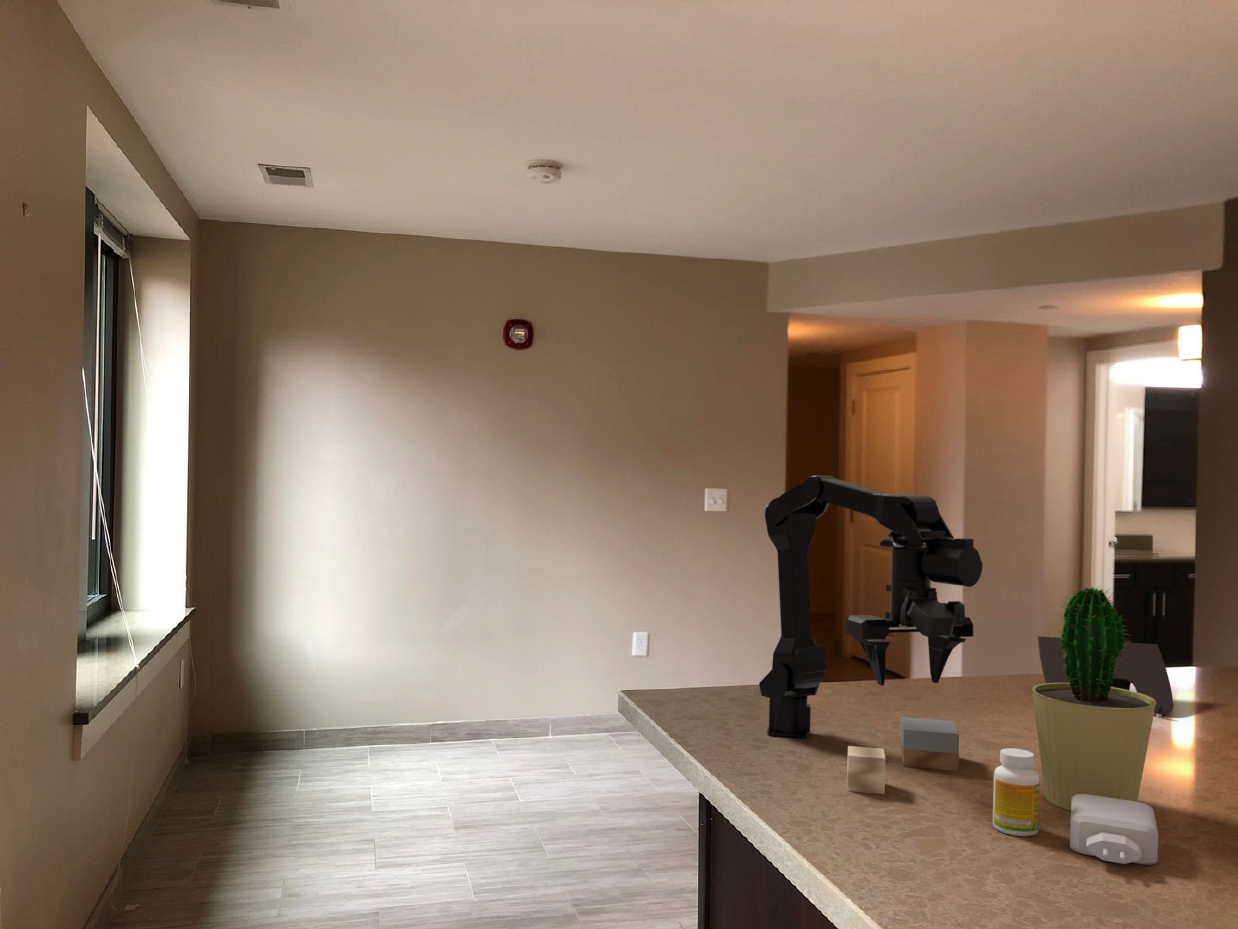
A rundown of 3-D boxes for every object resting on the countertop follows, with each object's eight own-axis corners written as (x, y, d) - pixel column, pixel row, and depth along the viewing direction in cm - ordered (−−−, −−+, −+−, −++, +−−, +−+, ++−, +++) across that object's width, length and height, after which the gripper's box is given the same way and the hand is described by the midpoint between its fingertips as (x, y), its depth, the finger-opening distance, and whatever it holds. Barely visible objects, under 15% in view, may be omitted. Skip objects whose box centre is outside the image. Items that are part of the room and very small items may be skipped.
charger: (1068, 871, 114) (1070, 829, 128) (1160, 888, 110) (1152, 842, 124) (1069, 829, 114) (1071, 792, 128) (1161, 844, 110) (1153, 804, 124)
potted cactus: (1148, 831, 127) (1155, 594, 127) (1019, 806, 135) (1025, 583, 135) (1158, 798, 140) (1163, 583, 140) (1039, 777, 148) (1045, 574, 148)
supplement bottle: (1042, 839, 123) (1044, 760, 123) (996, 835, 124) (998, 756, 124) (1033, 824, 129) (1035, 748, 129) (989, 820, 130) (991, 745, 130)
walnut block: (903, 769, 152) (903, 749, 152) (899, 754, 160) (900, 736, 160) (958, 774, 151) (959, 754, 151) (952, 759, 159) (952, 740, 159)
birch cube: (847, 791, 140) (848, 755, 140) (847, 780, 145) (847, 746, 145) (884, 794, 139) (885, 758, 139) (882, 783, 144) (883, 748, 144)
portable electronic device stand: (1044, 735, 196) (1048, 698, 192) (1034, 663, 215) (1037, 627, 211) (1176, 748, 189) (1183, 709, 185) (1153, 672, 209) (1159, 635, 205)
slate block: (903, 749, 153) (903, 729, 153) (900, 736, 160) (900, 717, 160) (958, 754, 151) (959, 734, 151) (952, 740, 159) (953, 721, 159)
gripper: (885, 586, 139) (882, 699, 139) (999, 585, 145) (996, 693, 145) (844, 577, 150) (842, 682, 150) (952, 576, 156) (949, 677, 156)
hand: (908, 684), depth 150 cm, fingers open, 9 cm apart
